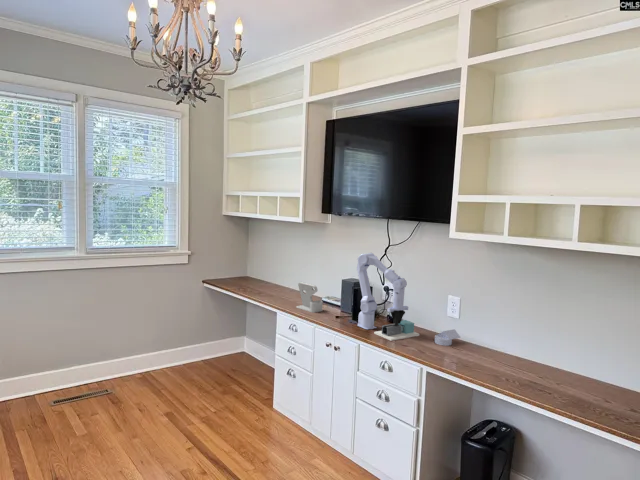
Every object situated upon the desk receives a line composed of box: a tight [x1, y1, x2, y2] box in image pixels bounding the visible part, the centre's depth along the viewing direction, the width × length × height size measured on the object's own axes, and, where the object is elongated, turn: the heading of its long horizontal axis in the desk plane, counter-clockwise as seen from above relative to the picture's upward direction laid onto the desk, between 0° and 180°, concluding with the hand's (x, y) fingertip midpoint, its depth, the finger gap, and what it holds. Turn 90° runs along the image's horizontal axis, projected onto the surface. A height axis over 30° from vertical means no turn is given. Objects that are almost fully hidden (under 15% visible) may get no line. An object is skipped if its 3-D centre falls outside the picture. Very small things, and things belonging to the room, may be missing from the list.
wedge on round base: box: [434, 328, 461, 347], centre depth 244 cm, size 9×7×13 cm
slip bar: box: [395, 320, 404, 332], centre depth 254 cm, size 3×10×7 cm, turn 124°
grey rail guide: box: [381, 323, 401, 336], centre depth 250 cm, size 5×10×5 cm, turn 124°
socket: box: [399, 319, 415, 334], centre depth 257 cm, size 7×6×6 cm
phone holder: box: [295, 281, 324, 313], centre depth 299 cm, size 17×10×18 cm, turn 46°
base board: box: [373, 330, 420, 341], centre depth 253 cm, size 14×22×1 cm, turn 124°
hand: (396, 323), depth 252 cm, fingers closed on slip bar, 2 cm apart
